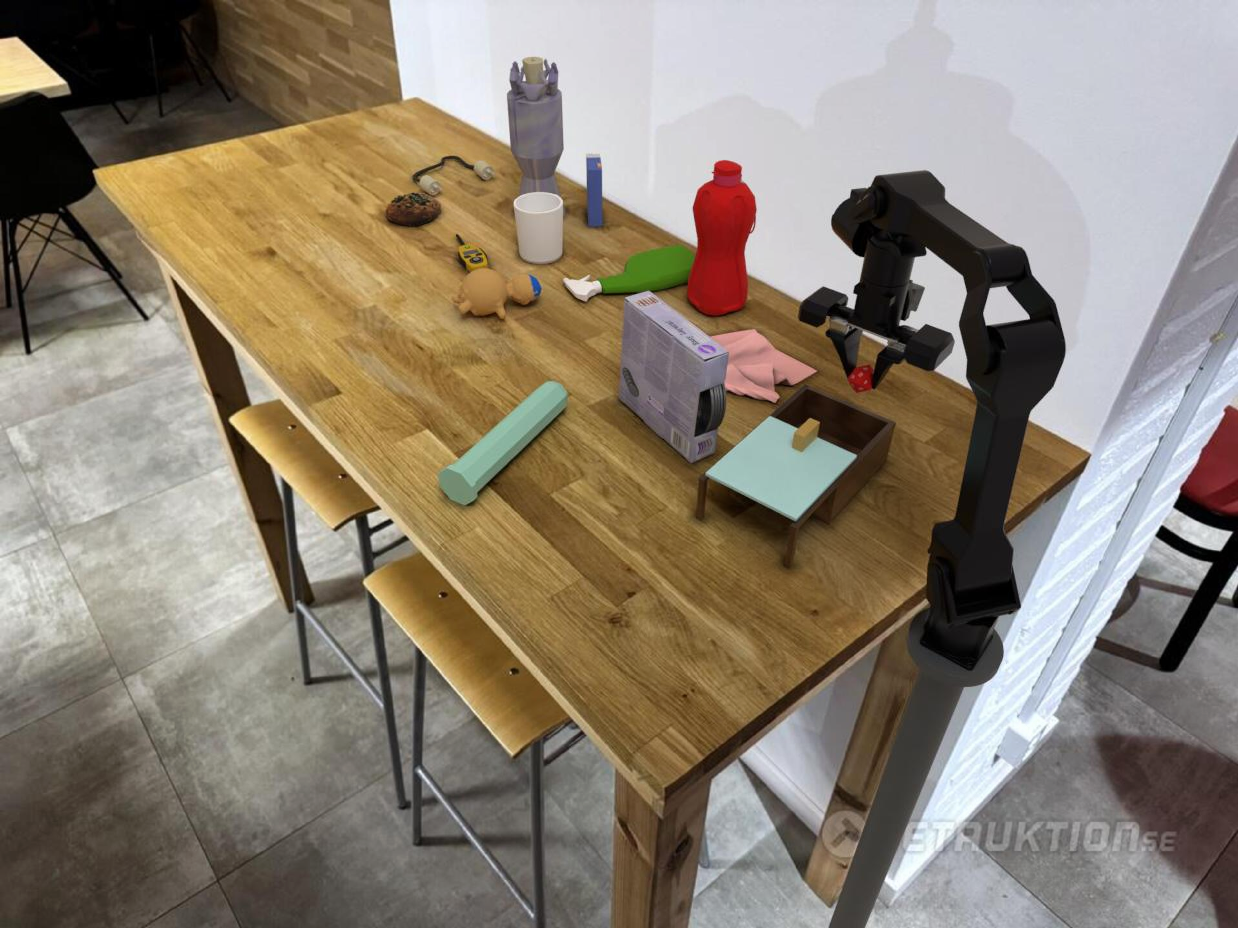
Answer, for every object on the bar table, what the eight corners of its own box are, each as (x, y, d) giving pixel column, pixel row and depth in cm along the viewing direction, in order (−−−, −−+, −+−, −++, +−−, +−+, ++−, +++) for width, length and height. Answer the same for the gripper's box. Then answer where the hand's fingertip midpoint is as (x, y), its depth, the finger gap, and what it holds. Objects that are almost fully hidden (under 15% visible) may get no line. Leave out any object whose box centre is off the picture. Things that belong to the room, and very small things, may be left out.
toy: (462, 326, 152) (548, 320, 158) (463, 282, 148) (551, 277, 154) (447, 303, 159) (529, 297, 165) (447, 260, 155) (532, 256, 161)
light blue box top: (856, 458, 118) (860, 439, 116) (795, 521, 109) (799, 503, 107) (769, 418, 124) (771, 400, 122) (705, 475, 115) (706, 457, 113)
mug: (546, 270, 169) (544, 217, 162) (507, 258, 172) (503, 206, 166) (580, 246, 176) (578, 195, 169) (541, 235, 179) (539, 184, 173)
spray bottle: (708, 280, 166) (584, 313, 158) (679, 254, 174) (559, 284, 165) (709, 266, 164) (584, 298, 156) (679, 240, 172) (558, 269, 164)
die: (882, 377, 121) (868, 354, 119) (883, 392, 119) (869, 369, 117) (857, 387, 123) (843, 366, 121) (857, 403, 120) (843, 380, 119)
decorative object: (568, 202, 190) (563, 49, 171) (562, 225, 183) (557, 67, 163) (519, 200, 191) (508, 48, 172) (511, 223, 183) (499, 65, 164)
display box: (886, 462, 128) (896, 422, 124) (788, 569, 113) (796, 528, 108) (798, 422, 135) (805, 383, 130) (695, 518, 119) (698, 478, 115)
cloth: (663, 338, 152) (663, 325, 150) (791, 326, 155) (793, 314, 153) (690, 412, 136) (691, 399, 135) (832, 398, 139) (834, 385, 138)
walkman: (602, 226, 182) (602, 167, 174) (588, 227, 182) (587, 168, 174) (600, 209, 188) (600, 151, 180) (586, 209, 188) (585, 151, 180)
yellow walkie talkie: (467, 267, 166) (443, 231, 176) (468, 276, 167) (444, 240, 177) (492, 261, 167) (468, 227, 178) (493, 271, 168) (469, 236, 179)
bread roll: (404, 231, 180) (399, 206, 177) (376, 219, 187) (371, 195, 184) (452, 217, 185) (448, 192, 183) (423, 206, 193) (419, 182, 190)
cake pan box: (723, 457, 129) (734, 350, 117) (695, 470, 127) (703, 363, 115) (644, 389, 141) (646, 287, 129) (616, 400, 139) (617, 297, 127)
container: (548, 366, 135) (442, 460, 118) (580, 389, 134) (479, 487, 117) (537, 392, 139) (433, 486, 122) (568, 415, 138) (468, 513, 121)
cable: (393, 175, 200) (391, 160, 198) (458, 157, 208) (456, 142, 206) (430, 200, 191) (428, 183, 189) (496, 179, 199) (495, 164, 197)
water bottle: (761, 307, 159) (779, 167, 143) (707, 322, 155) (718, 180, 139) (732, 283, 165) (746, 146, 149) (679, 297, 162) (687, 158, 145)
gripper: (987, 275, 110) (956, 382, 121) (848, 229, 119) (830, 332, 130) (948, 312, 104) (918, 422, 114) (804, 261, 113) (788, 367, 123)
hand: (862, 382), depth 120 cm, fingers closed on die, 3 cm apart
